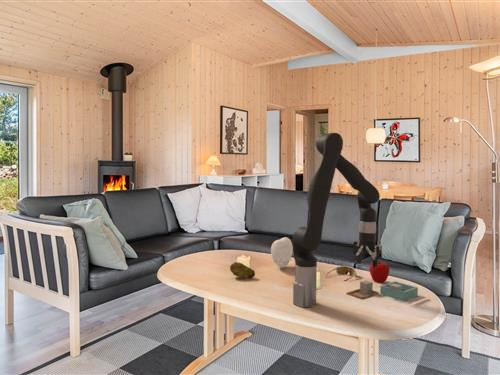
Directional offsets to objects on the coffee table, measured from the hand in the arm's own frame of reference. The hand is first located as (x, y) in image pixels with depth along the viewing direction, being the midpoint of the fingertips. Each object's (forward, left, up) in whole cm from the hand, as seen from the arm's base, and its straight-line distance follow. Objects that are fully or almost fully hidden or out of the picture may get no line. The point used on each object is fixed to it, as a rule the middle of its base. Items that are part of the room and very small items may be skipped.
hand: (366, 265), depth 181 cm
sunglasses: (+11, +24, -14) cm, 30 cm away
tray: (-3, 0, -14) cm, 14 cm away
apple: (+20, +7, -14) cm, 25 cm away
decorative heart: (-2, +57, -14) cm, 59 cm away
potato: (-32, +55, -14) cm, 65 cm away
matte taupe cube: (+7, -11, -13) cm, 18 cm away
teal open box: (+9, -11, -14) cm, 20 cm away
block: (0, 0, -13) cm, 13 cm away
